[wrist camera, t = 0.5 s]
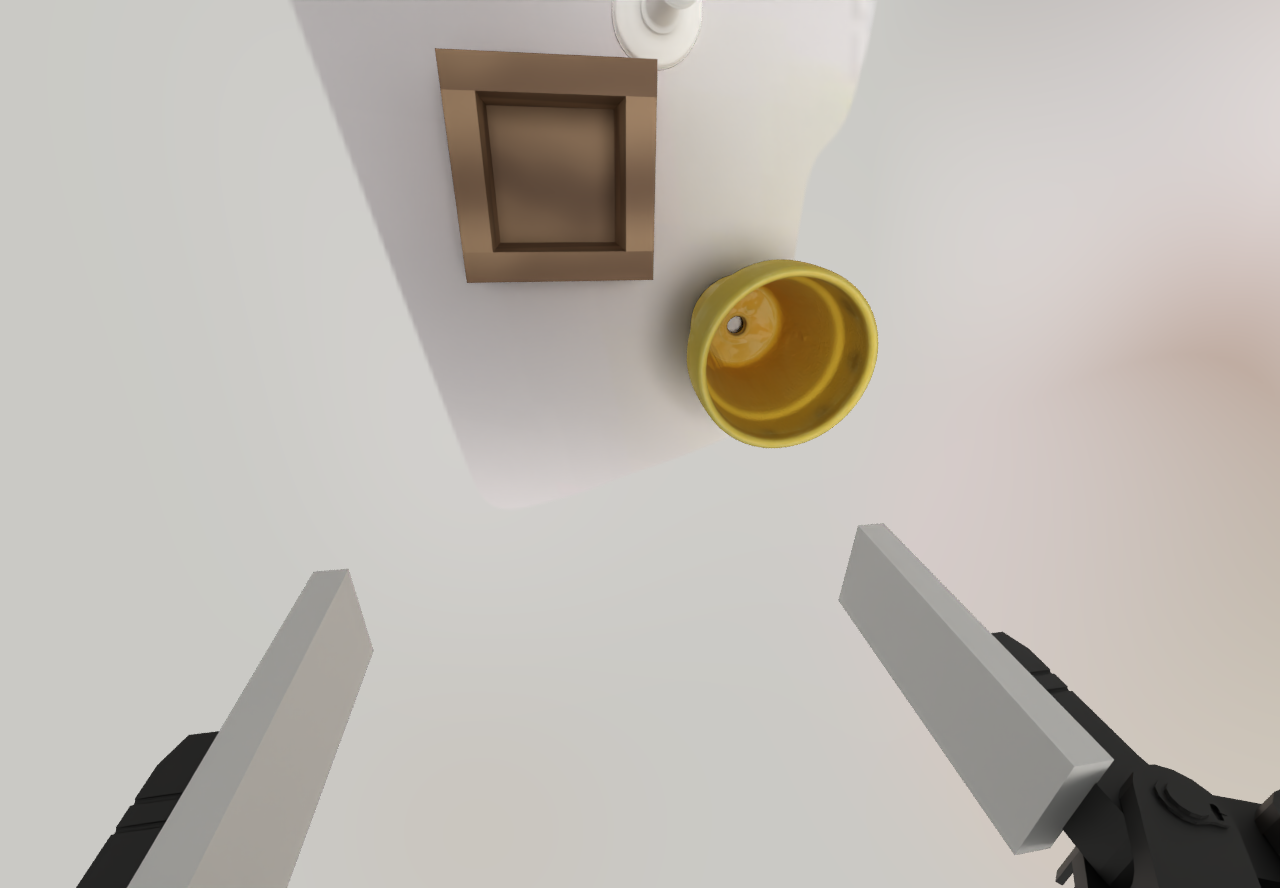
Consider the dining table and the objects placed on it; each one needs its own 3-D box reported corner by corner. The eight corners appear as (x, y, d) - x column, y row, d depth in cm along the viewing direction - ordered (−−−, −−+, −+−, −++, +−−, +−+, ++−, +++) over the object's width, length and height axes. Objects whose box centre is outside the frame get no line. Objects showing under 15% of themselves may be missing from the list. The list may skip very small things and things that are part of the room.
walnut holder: (456, 73, 28) (434, 48, 23) (637, 81, 29) (657, 59, 24) (479, 266, 32) (466, 282, 27) (636, 264, 34) (652, 279, 29)
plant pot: (658, 392, 38) (691, 454, 29) (667, 243, 33) (708, 264, 25) (790, 389, 40) (857, 447, 31) (815, 247, 35) (902, 268, 26)
